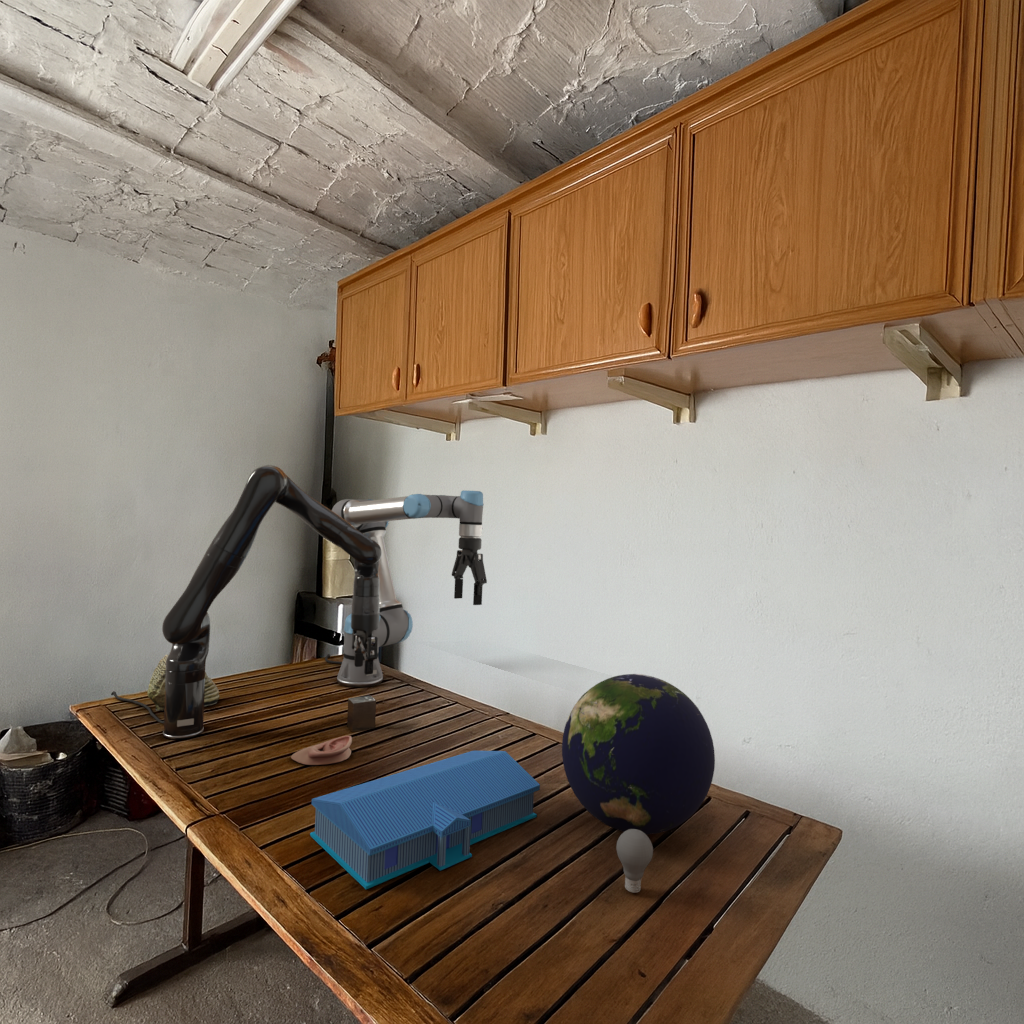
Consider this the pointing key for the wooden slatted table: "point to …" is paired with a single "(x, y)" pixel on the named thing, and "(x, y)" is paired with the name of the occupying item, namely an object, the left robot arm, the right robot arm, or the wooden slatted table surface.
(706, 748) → the globe
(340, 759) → the anatomical model
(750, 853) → the wooden slatted table surface
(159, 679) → the fossil
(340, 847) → the model building
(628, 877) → the light bulb
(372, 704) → the block
